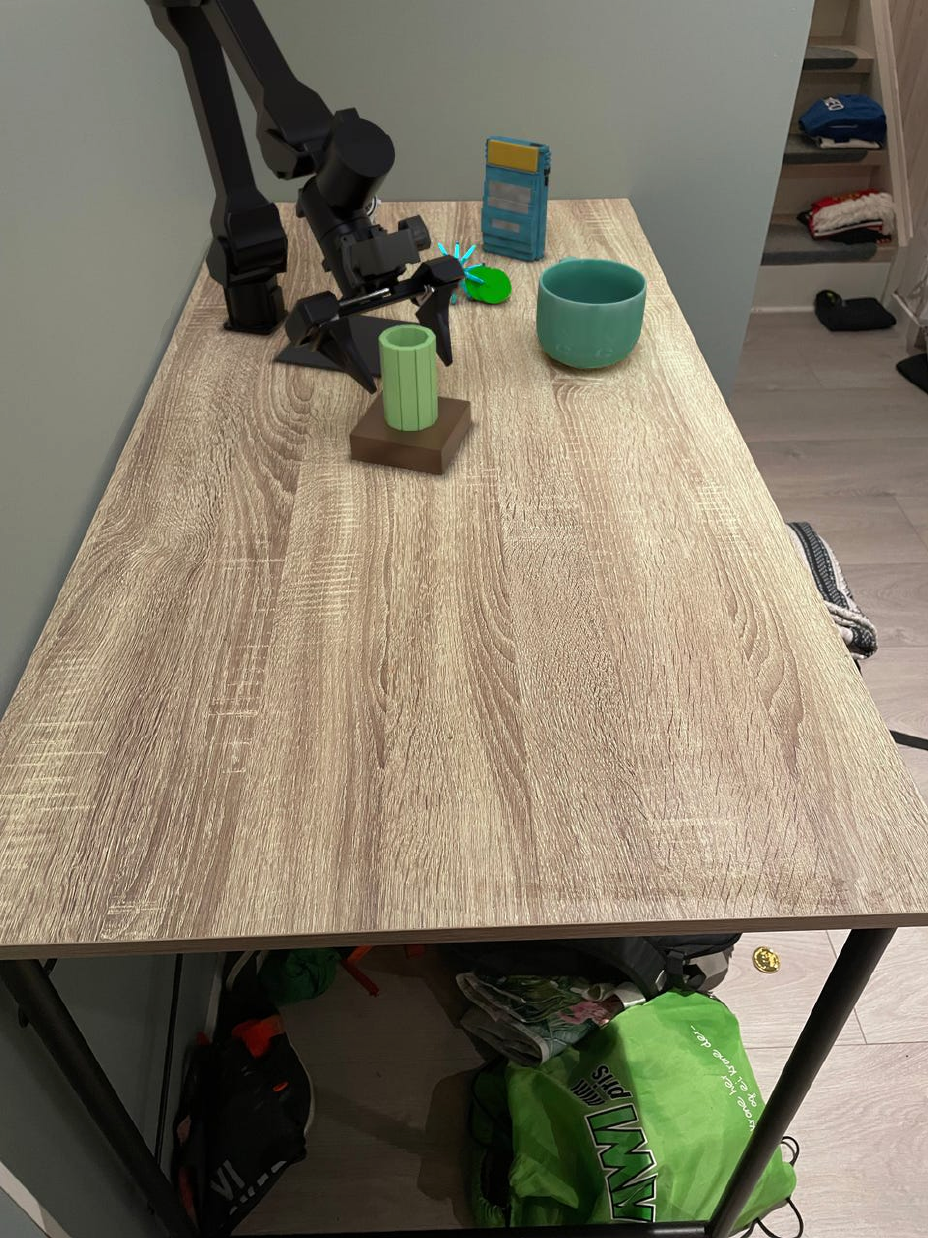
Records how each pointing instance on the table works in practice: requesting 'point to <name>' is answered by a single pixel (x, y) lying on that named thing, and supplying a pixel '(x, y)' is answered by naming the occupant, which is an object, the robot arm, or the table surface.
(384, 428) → the ring stand
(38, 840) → the table surface
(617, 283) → the mug
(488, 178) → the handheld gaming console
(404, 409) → the light green hollow cylinder
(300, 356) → the mat
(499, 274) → the green cyan branched toy
